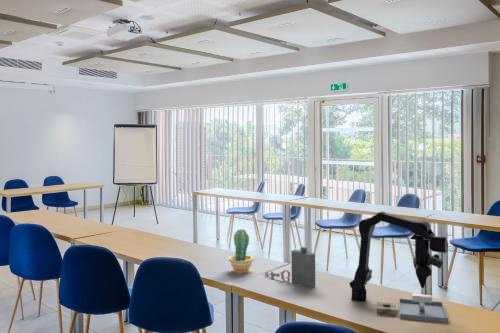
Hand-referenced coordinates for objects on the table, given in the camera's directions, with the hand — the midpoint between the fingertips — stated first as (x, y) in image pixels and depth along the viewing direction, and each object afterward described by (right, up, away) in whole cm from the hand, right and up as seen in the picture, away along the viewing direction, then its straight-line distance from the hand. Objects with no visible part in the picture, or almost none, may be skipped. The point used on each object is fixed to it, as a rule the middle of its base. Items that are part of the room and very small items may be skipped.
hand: (421, 284), depth 192 cm
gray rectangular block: (0, -12, +1) cm, 12 cm away
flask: (-47, -11, +42) cm, 64 cm away
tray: (0, -12, +1) cm, 12 cm away
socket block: (-15, -13, +2) cm, 20 cm away
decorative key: (-62, -11, +51) cm, 81 cm away
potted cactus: (-82, -11, +68) cm, 107 cm away
